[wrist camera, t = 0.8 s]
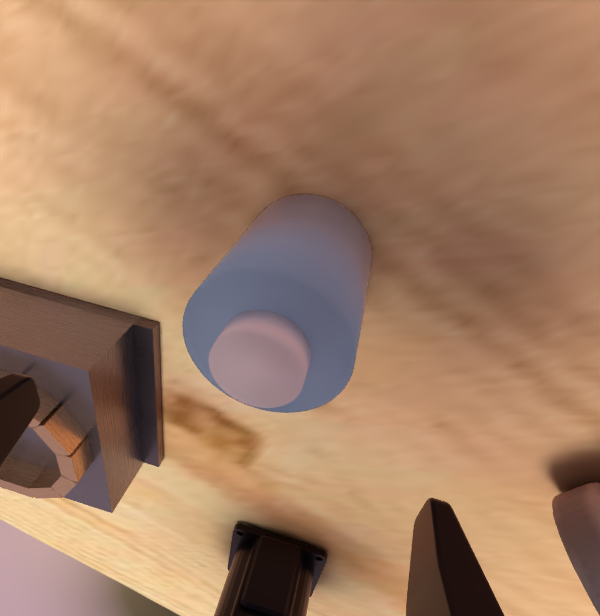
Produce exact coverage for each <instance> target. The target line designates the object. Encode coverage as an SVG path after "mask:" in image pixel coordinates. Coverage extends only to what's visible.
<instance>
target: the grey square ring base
mask: <svg viewBox="0 0 600 616" xmlns="http://www.w3.org/2000/svg"><path fill="white" fill-rule="evenodd" d="M13 373H20V374H23V375H27V376H30V377H32V378H33V379H34V380H35V382H36V386H37V390H38V393H39V397H40V408H39V410H38V412H37V414H36V415H35V417H34V418H33V420H32V421H31V423H30V424H29V425H28V427H27V428H26V430H25V431H24V433H23V434H22V436H21V437H20V439H19V440H18V442H17V443H16V445H15V446H14V448H13V449H12V451H11V452H10V454H9V455H8V457H7V458H6V459H5V461H4V462H3V464H2V465H1V467H0V487H2V488H5V489H8V490H11V491H14V492H17V493H20V494H23V495H26V496H29V497H32V498H33V497H35V498H62V497H64V498H67V499H71V500H74V501H77V502H80V503H83V504H86V505H89V506H92V507H95V508H98V509H101V510H104V511H107V512H110V513H112V512H113V511H114V509H115V508H116V506H117V504H118V503H119V501H120V500H121V498H122V496H123V495H124V493H125V492H126V490H127V488H128V487H129V485H130V484H131V482H132V480H133V479H134V477H135V476H136V474H137V472H138V471H139V469H140V468H141V466H142V464H143V463H148V464H151V465H154V466H157V467H159V466H160V464H161V462H162V461H163V430H162V400H161V369H160V339H159V322H155V321H152V320H148V319H145V318H141V317H137V316H134V315H130V314H127V313H123V312H120V311H116V310H112V309H109V308H105V307H102V306H98V305H95V304H91V303H88V302H84V301H80V300H77V299H73V298H70V297H66V296H63V295H59V294H55V293H52V292H48V291H45V290H41V289H38V288H34V287H31V286H27V285H23V284H20V283H16V282H13V281H9V280H6V279H2V278H0V378H2V377H4V376H7V375H9V374H13Z"/></svg>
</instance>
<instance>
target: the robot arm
mask: <svg viewBox="0 0 600 616" xmlns="http://www.w3.org/2000/svg"><path fill="white" fill-rule="evenodd" d="M39 408H40V397H39V393H38V390H37V386H36V382H35V380H34V379H33V378H32V377H30V376H27V375H23V374H20V373H13V374H9V375H7V376H4V377H2V378H0V467H1V465H2V464H3V462H4V461H5V459H6V458H7V457H8V455H9V454H10V452H11V451H12V449H13V448H14V446H15V445H16V443H17V442H18V440H19V439H20V437H21V436H22V434H23V433H24V431H25V430H26V428H27V427H28V425H29V424H30V423H31V421H32V420H33V418H34V417H35V415H36V414H37V412H38V410H39ZM326 560H327V552H326V551H324V550H322V549H319V548H316V547H313V546H310V545H307V544H304V543H301V542H297V541H294V540H291V539H288V538H285V537H282V536H279V535H276V534H272V533H269V532H266V531H263V530H260V529H257V528H254V527H251V526H247V525H244V524H240V523H239V524H236V525H235V528H234V530H233V536H232V542H231V549H230V556H229V563H228V570H229V573H228V576H227V579H226V582H225V585H224V588H223V591H222V594H221V597H220V600H219V603H218V606H217V609H216V612H215V614H214V616H306V613H307V608H308V602H309V597H311V595H312V593H313V591H314V589H315V586H316V584H317V582H318V579H319V577H320V575H321V572H322V570H323V568H324V565H325V563H326ZM406 616H504V614H503V612H502V610H501V608H500V606H499V604H498V602H497V600H496V598H495V595H494V593H493V591H492V589H491V587H490V585H489V583H488V581H487V579H486V577H485V575H484V573H483V571H482V569H481V567H480V565H479V563H478V560H477V558H476V556H475V554H474V552H473V550H472V548H471V546H470V544H469V542H468V540H467V538H466V536H465V534H464V532H463V530H462V528H461V525H460V523H459V521H458V519H457V517H456V515H455V513H454V511H453V509H452V507H451V506H450V505H449V504H448V503H447V502H445V501H441V500H438V499H435V498H429V499H428V500H427V501H426V503H425V504H424V506H423V508H422V509H421V511H420V512H419V514H418V516H417V518H416V520H415V524H414V530H413V540H412V551H411V561H410V572H409V582H408V592H407V605H406Z"/></svg>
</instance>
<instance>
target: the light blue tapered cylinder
mask: <svg viewBox="0 0 600 616" xmlns="http://www.w3.org/2000/svg"><path fill="white" fill-rule="evenodd" d="M371 265H372V249H371V245H370V240H369V238H368V235H367V233H366V231H365V229H364V227H363V226H362V224H361V223H360V221H359V220H358V219H357V218H356V217H355V216H354V214H353V213H352V212H350V211H349V210H348V209H347V208H345V207H344V206H342V205H341V204H339V203H338V202H335V201H333V200H331V199H329V198H326V197H322V196H318V195H312V194H298V195H291V196H287V197H284V198H281V199H279V200H277V201H275V202H273V203H272V204H270V205H269V206H268V207H266V208H265V209H264V210H263V211H262V212H261V213H260V214H259V216H258V217H257V218H256V219H255V220H254V222H253V223H252V224H251V225H250V226H249V228H248V229H247V230H246V231H245V232H244V234H243V235H242V236H241V237H240V238H239V240H238V241H237V242H236V243H235V244H234V246H233V247H232V248H231V249H230V250H229V252H228V253H227V254H226V255H225V256H224V258H223V259H222V260H221V261H220V262H219V264H218V265H217V266H216V267H215V268H214V270H213V271H212V272H211V273H210V274H209V276H208V277H207V278H206V279H205V280H204V282H203V283H202V284H201V285H200V287H199V288H198V289H197V290H196V291H195V293H194V294H193V295H192V297H191V298H190V300H189V302H188V304H187V306H186V309H185V312H184V316H183V336H184V340H185V344H186V347H187V350H188V352H189V354H190V356H191V358H192V360H193V362H194V363H195V365H196V366H197V368H198V369H199V370H200V372H201V373H202V374H203V375H204V376H205V377H206V378H207V379H208V380H209V381H210V382H211V383H212V384H213V385H214V386H215V387H217V388H218V389H219V390H221V391H222V392H224V393H225V394H226V395H228V396H230V397H232V398H233V399H235V400H237V401H239V402H241V403H244V404H246V405H249V406H252V407H255V408H258V409H262V410H266V411H273V412H284V413H289V412H301V411H307V410H310V409H314V408H317V407H319V406H322V405H324V404H326V403H327V402H329V401H331V400H332V399H333V398H335V397H336V396H337V395H338V394H339V393H340V392H341V391H342V390H343V389H344V388H345V386H346V385H347V383H348V382H349V380H350V377H351V375H352V373H353V368H354V364H355V358H356V353H357V347H358V341H359V335H360V329H361V323H362V317H363V311H364V306H365V300H366V294H367V288H368V282H369V276H370V270H371Z"/></svg>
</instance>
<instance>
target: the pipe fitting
mask: <svg viewBox="0 0 600 616" xmlns="http://www.w3.org/2000/svg"><path fill="white" fill-rule="evenodd" d="M552 507H553V516H554V520H555V523H556V526H557V529H558V532H559V534H560V537H561V540H562V542H563V545H564V547H565V549H566V552H567V554H568V556H569V559H570V561H571V563H572V565H573V567H574V569H575V571H576V573H577V575H578V577H579V579H580V580H581V582H582V584H583V586H584V588H585V590H586V592H587V594H588V596H589V598H590V599H591V601H592V603H593V605H594V606H595V608H596V610H597V612H598V613H599V615H600V483H599V482H593V483H588V484H585V485H582V486H579V487H577V488H574V489H572V490H569V491H567V492H564V493H562V494H559V495H557V496H555V497H554V499H553V502H552Z"/></svg>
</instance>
